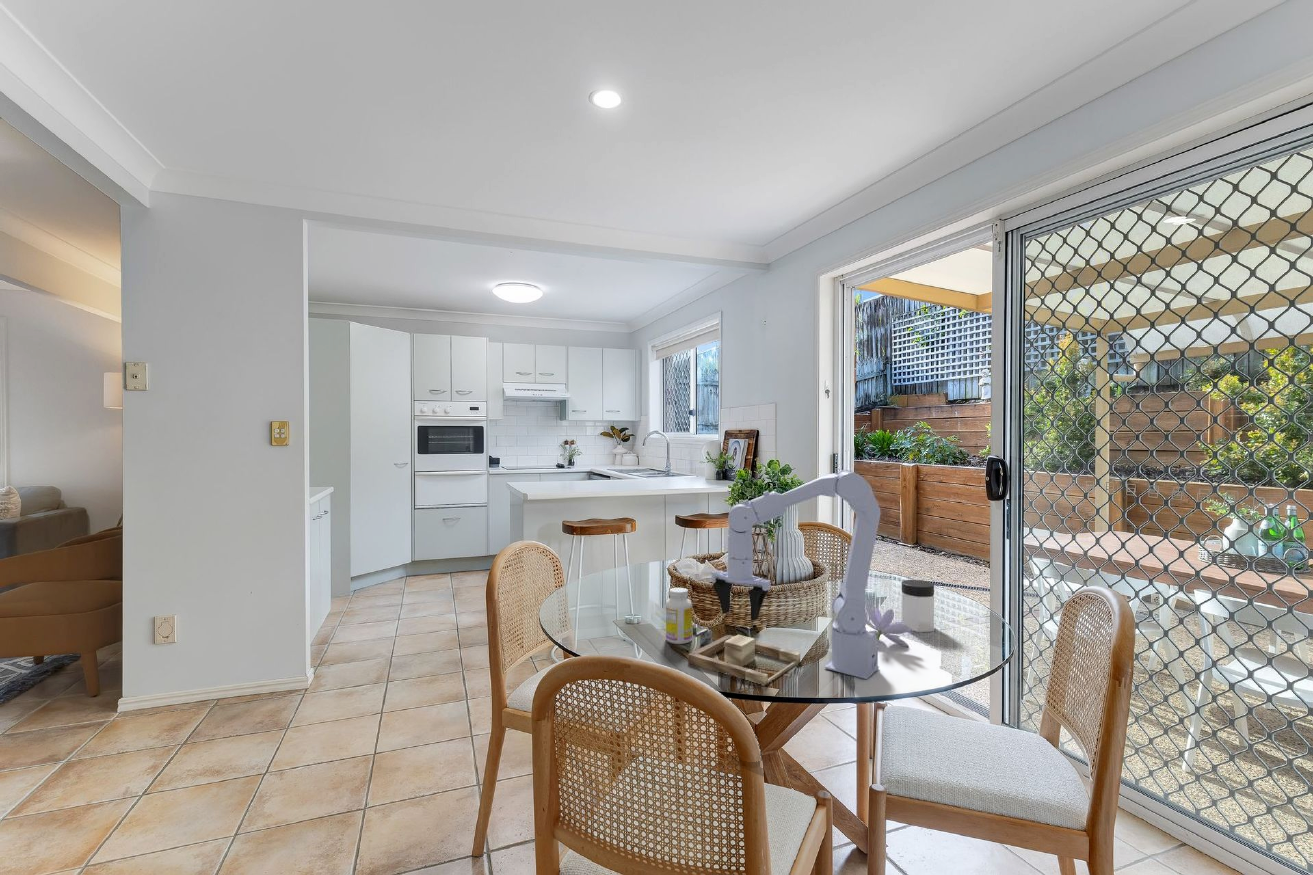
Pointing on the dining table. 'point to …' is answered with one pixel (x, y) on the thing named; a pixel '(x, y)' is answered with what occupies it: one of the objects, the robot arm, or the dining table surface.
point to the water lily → (886, 625)
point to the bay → (703, 660)
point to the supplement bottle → (678, 617)
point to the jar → (918, 605)
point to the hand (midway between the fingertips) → (740, 615)
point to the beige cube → (739, 650)
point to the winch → (703, 636)
